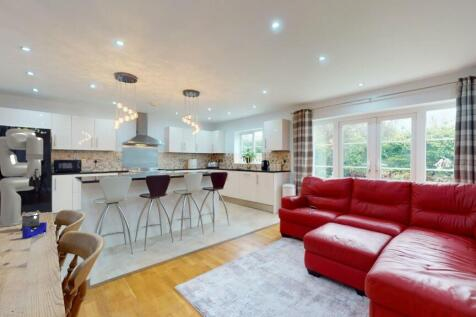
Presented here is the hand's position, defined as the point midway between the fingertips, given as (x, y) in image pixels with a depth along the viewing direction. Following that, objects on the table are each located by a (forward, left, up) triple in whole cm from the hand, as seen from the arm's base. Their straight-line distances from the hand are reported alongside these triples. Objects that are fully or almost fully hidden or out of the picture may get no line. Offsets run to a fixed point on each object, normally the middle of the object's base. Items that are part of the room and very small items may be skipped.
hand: (34, 186), depth 132 cm
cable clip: (+2, -2, -28) cm, 28 cm away
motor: (-9, +10, -28) cm, 31 cm away
